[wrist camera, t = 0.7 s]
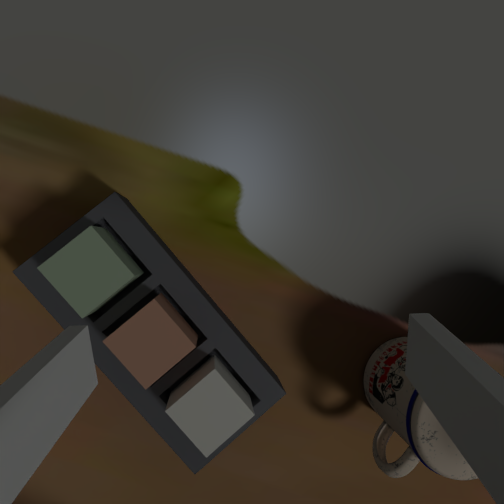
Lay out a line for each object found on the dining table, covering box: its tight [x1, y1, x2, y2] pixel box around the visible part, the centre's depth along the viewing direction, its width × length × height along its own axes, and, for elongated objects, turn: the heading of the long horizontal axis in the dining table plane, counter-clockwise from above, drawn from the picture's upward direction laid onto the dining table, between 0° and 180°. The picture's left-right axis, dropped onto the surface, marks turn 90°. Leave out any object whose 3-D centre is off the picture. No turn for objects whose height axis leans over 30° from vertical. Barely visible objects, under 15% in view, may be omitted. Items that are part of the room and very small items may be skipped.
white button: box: [165, 354, 255, 458], centre depth 28 cm, size 5×5×4 cm
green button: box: [37, 226, 144, 318], centre depth 27 cm, size 5×5×4 cm
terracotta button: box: [103, 293, 198, 390], centre depth 27 cm, size 5×5×4 cm
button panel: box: [13, 192, 286, 474], centre depth 30 cm, size 10×22×4 cm, turn 39°
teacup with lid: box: [363, 337, 500, 480], centre depth 29 cm, size 12×9×12 cm
